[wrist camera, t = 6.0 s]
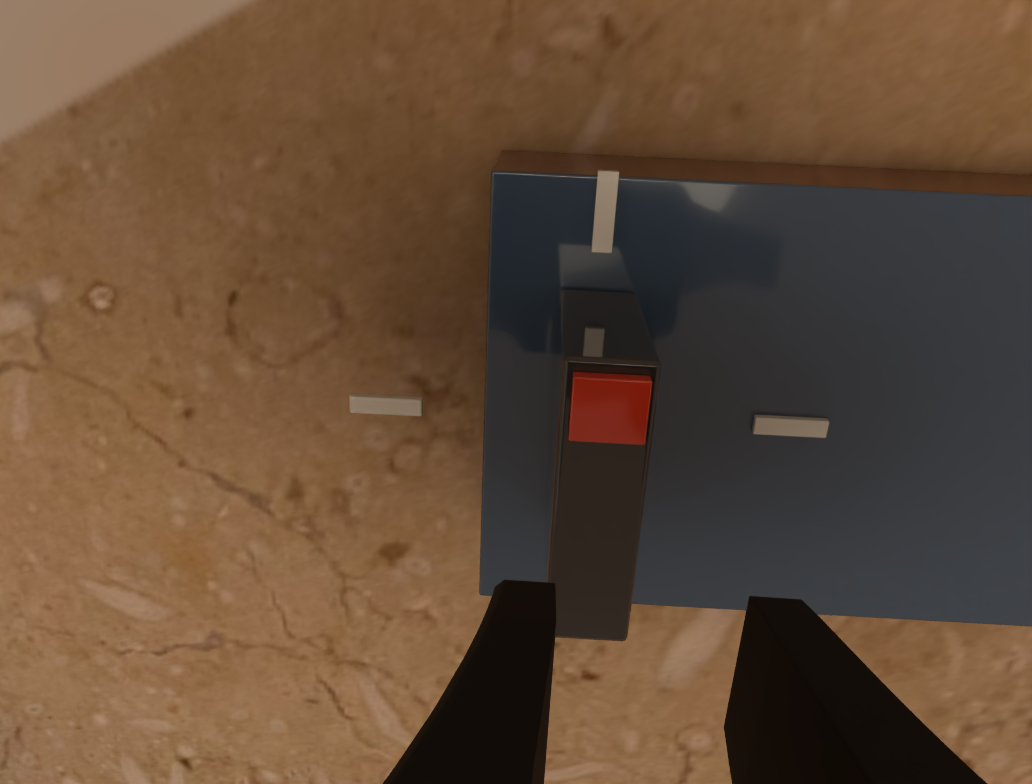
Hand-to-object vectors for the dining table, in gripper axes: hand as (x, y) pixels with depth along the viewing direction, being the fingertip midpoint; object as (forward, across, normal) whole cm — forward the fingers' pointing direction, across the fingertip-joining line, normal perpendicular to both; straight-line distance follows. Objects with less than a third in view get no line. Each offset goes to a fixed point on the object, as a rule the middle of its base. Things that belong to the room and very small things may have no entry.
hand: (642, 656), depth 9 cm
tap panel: (+9, -3, 0) cm, 10 cm away
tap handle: (+6, 0, 0) cm, 6 cm away
